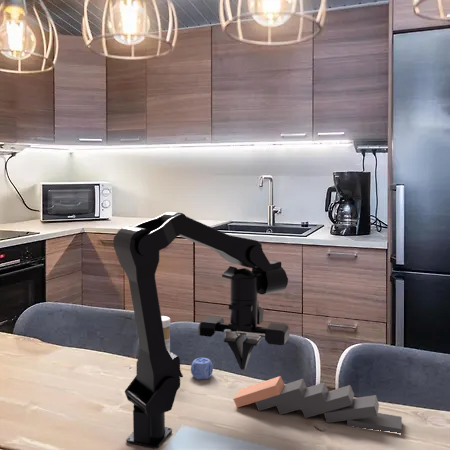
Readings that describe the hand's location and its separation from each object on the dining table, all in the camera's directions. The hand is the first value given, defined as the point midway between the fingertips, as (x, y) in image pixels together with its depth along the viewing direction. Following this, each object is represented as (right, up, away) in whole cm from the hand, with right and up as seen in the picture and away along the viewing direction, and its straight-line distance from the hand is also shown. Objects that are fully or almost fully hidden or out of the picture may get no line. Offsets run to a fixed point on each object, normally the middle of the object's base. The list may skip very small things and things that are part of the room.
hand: (243, 369), depth 102 cm
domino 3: (+8, -7, -2) cm, 11 cm away
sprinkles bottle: (-20, -6, +18) cm, 28 cm away
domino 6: (+21, -8, -6) cm, 23 cm away
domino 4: (+13, -7, -4) cm, 15 cm away
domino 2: (+4, -7, -1) cm, 8 cm away
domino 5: (+17, -7, -5) cm, 19 cm away
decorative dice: (-9, -6, +15) cm, 19 cm away
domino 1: (-1, -7, +1) cm, 7 cm away
